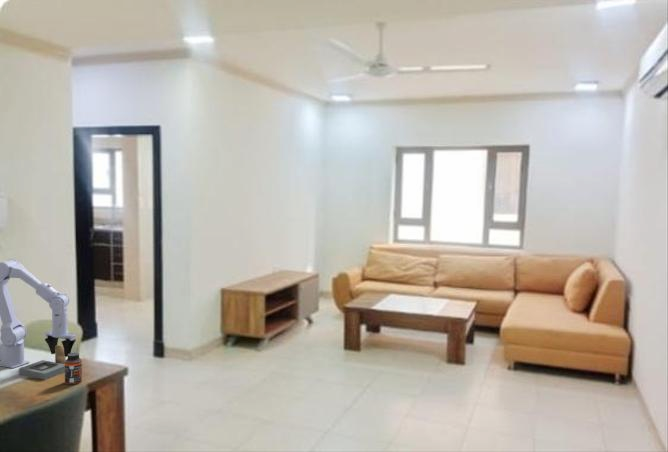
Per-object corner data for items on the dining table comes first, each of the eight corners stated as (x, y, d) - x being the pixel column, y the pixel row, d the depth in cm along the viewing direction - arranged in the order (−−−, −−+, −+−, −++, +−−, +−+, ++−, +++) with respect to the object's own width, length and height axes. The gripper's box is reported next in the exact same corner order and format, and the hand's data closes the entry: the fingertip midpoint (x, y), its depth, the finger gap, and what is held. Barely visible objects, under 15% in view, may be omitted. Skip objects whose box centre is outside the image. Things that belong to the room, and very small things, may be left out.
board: (19, 374, 213) (18, 367, 213) (42, 365, 224) (42, 359, 223) (45, 379, 208) (44, 372, 208) (68, 370, 219) (67, 364, 218)
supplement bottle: (75, 386, 203) (74, 357, 202) (61, 384, 204) (61, 355, 203) (85, 380, 209) (85, 352, 208) (72, 379, 210) (71, 351, 209)
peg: (53, 365, 225) (52, 346, 224) (61, 362, 229) (60, 344, 228) (60, 366, 223) (59, 347, 223) (68, 363, 227) (67, 345, 226)
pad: (34, 370, 214) (34, 368, 214) (44, 366, 219) (44, 364, 219) (43, 371, 213) (43, 370, 213) (53, 368, 217) (53, 366, 217)
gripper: (80, 323, 226) (81, 354, 227) (55, 319, 231) (55, 349, 232) (67, 327, 219) (67, 359, 220) (40, 323, 224) (41, 354, 225)
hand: (60, 354), depth 226 cm, fingers open, 7 cm apart
